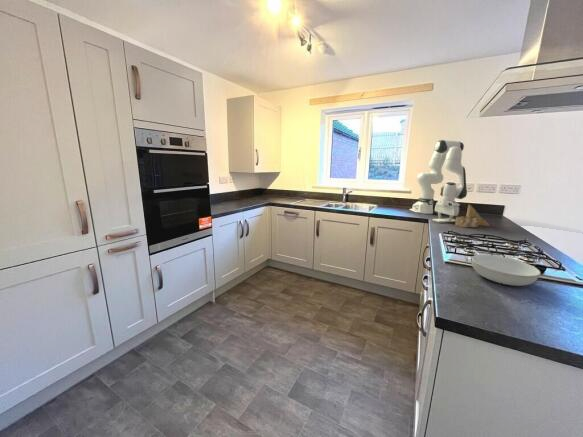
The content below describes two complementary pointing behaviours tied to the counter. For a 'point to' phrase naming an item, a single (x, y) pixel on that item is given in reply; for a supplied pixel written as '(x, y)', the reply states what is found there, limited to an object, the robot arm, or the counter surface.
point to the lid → (443, 220)
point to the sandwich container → (476, 215)
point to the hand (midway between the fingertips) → (444, 219)
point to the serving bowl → (505, 270)
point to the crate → (467, 221)
